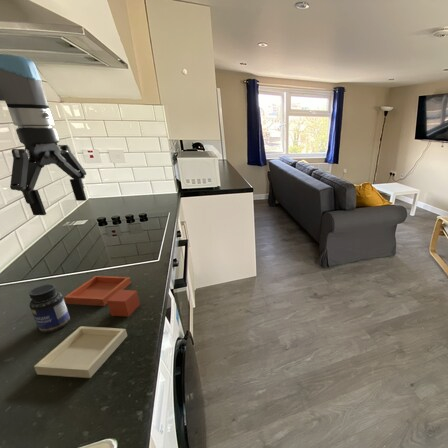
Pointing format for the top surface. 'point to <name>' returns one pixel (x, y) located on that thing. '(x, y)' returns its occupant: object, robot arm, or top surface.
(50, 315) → the pill bottle
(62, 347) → the cream tray
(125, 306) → the block
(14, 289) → the top surface
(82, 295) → the terracotta tray
